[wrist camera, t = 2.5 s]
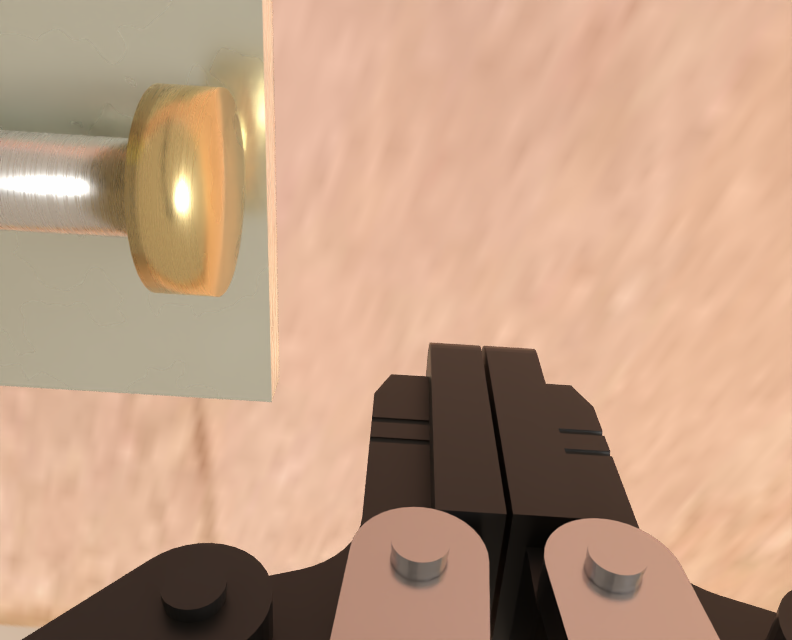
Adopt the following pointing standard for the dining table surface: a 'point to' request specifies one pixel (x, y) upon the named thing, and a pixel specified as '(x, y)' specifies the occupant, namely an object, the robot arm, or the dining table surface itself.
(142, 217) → the hinge pin
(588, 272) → the dining table surface
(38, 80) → the hinge
